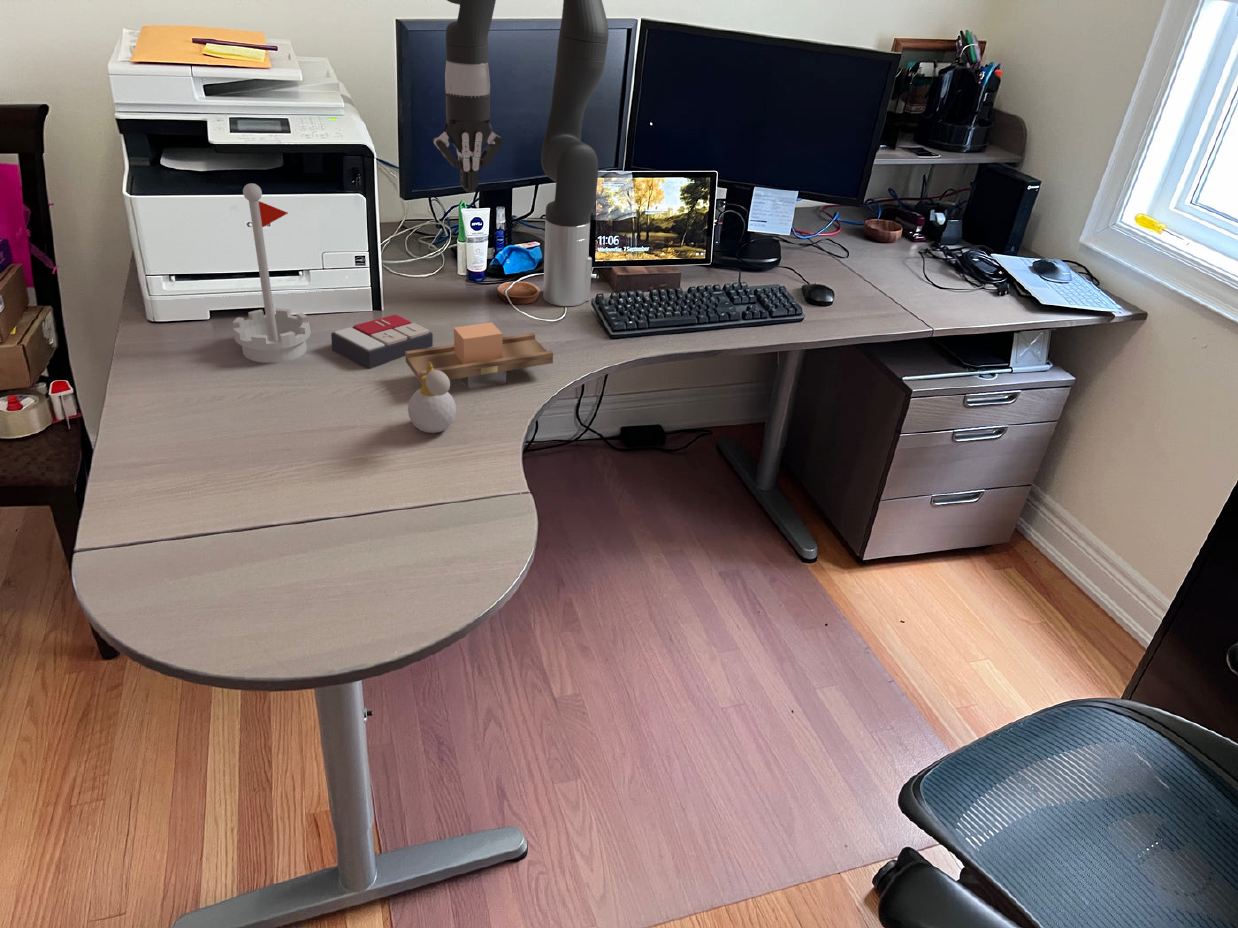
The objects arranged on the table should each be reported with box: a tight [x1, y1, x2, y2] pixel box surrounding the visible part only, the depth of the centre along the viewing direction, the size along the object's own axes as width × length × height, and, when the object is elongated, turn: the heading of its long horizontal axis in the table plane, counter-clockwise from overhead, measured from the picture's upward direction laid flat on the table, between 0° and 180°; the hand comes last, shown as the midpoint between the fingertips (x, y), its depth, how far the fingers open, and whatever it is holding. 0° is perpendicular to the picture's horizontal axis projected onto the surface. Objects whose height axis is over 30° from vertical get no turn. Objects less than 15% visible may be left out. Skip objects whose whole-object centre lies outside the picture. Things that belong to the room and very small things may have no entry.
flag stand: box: [232, 183, 312, 364], centre depth 157 cm, size 13×13×30 cm
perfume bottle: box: [407, 362, 457, 434], centre depth 141 cm, size 8×10×12 cm
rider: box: [453, 322, 503, 364], centre depth 157 cm, size 7×5×5 cm
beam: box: [405, 332, 554, 390], centre depth 160 cm, size 24×9×5 cm, turn 118°
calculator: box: [330, 314, 434, 370], centre depth 168 cm, size 11×4×15 cm
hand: (469, 190), depth 164 cm, fingers closed
